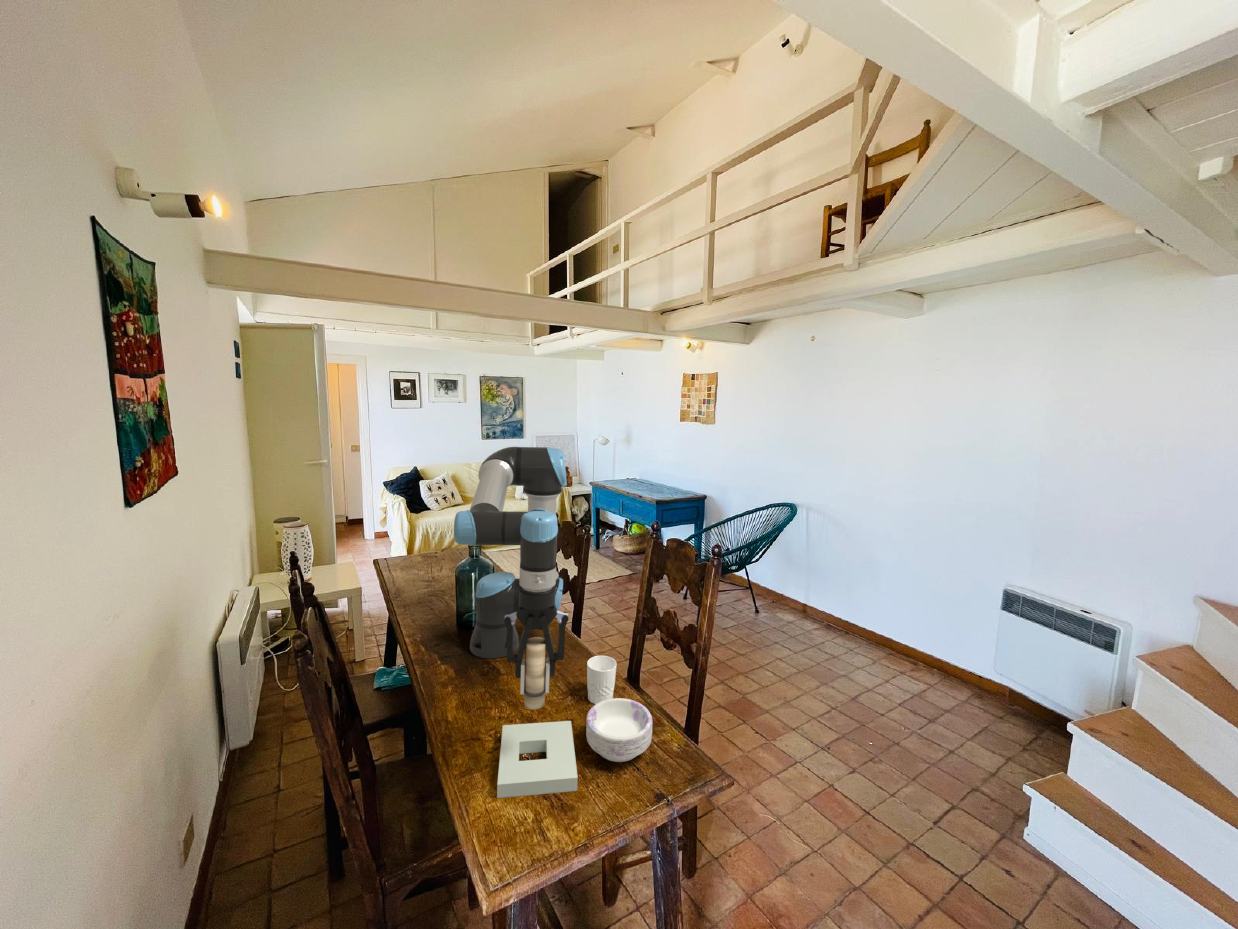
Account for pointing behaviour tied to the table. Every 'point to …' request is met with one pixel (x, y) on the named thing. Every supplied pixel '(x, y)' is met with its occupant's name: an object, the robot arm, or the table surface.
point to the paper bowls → (619, 729)
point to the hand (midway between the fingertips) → (534, 689)
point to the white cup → (600, 678)
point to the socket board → (542, 773)
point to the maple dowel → (535, 673)
